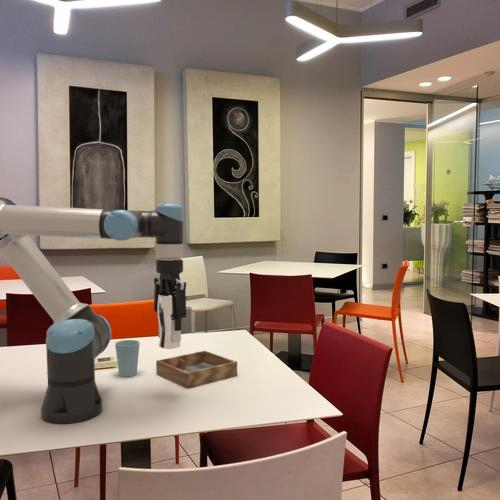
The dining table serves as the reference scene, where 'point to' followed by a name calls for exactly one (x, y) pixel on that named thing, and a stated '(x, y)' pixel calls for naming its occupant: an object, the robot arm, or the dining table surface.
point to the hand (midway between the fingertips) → (169, 339)
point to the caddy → (196, 368)
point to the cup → (127, 357)
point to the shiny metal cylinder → (165, 321)
